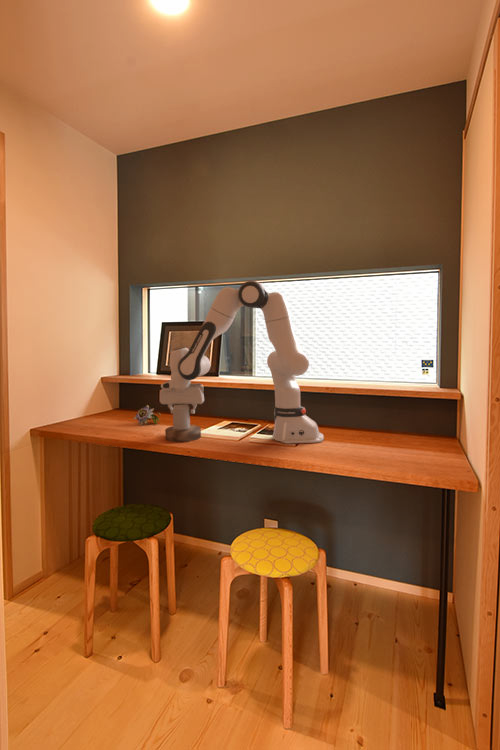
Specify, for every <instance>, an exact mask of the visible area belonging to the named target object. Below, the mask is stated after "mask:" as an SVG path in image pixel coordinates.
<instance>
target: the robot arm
mask: <svg viewBox="0 0 500 750" xmlns="http://www.w3.org/2000/svg"><path fill="white" fill-rule="evenodd" d="M241 307H246V308H250V309H260V310H261V311H262V314H263V318H264V322H265V323H264V324H265V327H266V332H267V337H268V340H269V341H270V343H271V344H272V346H273V348H274V350H273V351H272V352H270V353H269V355H268V356H267V359H266V363H267V364H266V365H267V367H268V368H269V370H270V373H271V379H272V382H273V386H274V387H273V388H274V402H275V404H274V405H275V406H274V409H273V411H274V412H273V415H274V417H273V418H274V429H273V433H272V437H273V438H274V439H275V440H274V439H273V438H272V439H273V440H274V441H277V442H281V443H283V444H307V443H308V444H309V443H322V442H323V441H324V439H325V437H324V434H323V433H321V432H320V431H319V426H318V423H317V422H316V421H314V420H313V419H312V418H310V417H309V416H307V415H306V413H307V410H306V408H305V406H302V405H301V388H300V386H299V384H298V382H297V379H296V377H299V376H302V375H304V374H306V372H307V371H308V370H309V366H310V361H309V358H308V357H307V355H306V354H305V353H304V351H303V350H302V348H301V346H300V344H299V342H298V339H297V337H296V333H295V331H294V327H293V323H292V317H291V313H290V310H289V306H288V303H287V300H286V298H285V295H284V294H282V293H281V292H275V291H274V292H268V291H267V290H266V288H265V287H264V285H263V284H262V283H260V282H259V281H256V280H248V281H246V282H243V283H242V284H241V285H240V287H239V288H238V289H237V288H234V287H229V286H226V287H223V288H222V289H220V291H219V292H218V294H217V295H216V296H215V298H214V300H213V302H212V304H211V306H210V308H209V311H208V313H207V315H206V317H205V320H204V322H203V323H202V325H201V328H199V329H200V330H199V331H198V333H197V334H196V336H195V338H194V340H193V342H192V345H191V346H190V347H189V348H188V347H186V346H184V347H177V348H174V349H172V350H171V351H170V355H169V367H170V368H169V369H170V371H171V373H170V380H167V381H166V382H162V383H161V384H160V388H161V390H160V391H159V402H160V404H161V405H167V407H168V408H169V410H170V414H172V415H173V405H174V404H187V405H192V409H190V414H191V415H193V414H195V413H196V408H197V406H198V405H202V404H203V403H204V402H205V395H204V385H203V384H201V383H199V382H197V383H193V382H191V381H192V380H195V379H197V378H199V377H202V376H205V375H206V374H207V373H209V372H210V369H211V360H210V359H209V358H208V357H207V356H206V355H205V354H206V352H207V350H208V348H209V346H210V345H211V343H212V341H214V340H215V339H217V338H218V336H220V335H222V334H224V333H226V332H227V331H228V329H229V328H230V327H231V325H232V324H233V322H234V321H235V318H236V315H237V313H238V312H239V309H240V308H241Z"/></svg>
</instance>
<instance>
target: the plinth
mask: <svg viewBox="0 0 500 750" xmlns="http://www.w3.org/2000/svg"><path fill="white" fill-rule="evenodd" d="M164 430H165V431H164V432H165V433H164V434H165V440H166V441H168V442H170V441H171V442H170V443H186V442H193V441H196V440H199V439H200V438H202V431H201V430H202V429H201V426H199V425H195V424H190V428H189V429H188V430H185V431H176V430H175V429H174V426H169V427H167V428H165V429H164Z"/></svg>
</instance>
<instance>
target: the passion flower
mask: <svg viewBox="0 0 500 750" xmlns="http://www.w3.org/2000/svg"><path fill="white" fill-rule="evenodd" d="M154 410H155V408H154V407H153V408H150V406H149V405H148V404H146V406H144V407H142V408H139V409H138V410H137V413H136V414H135V416H134V417H133V419H134V420H137V424H138V425H139V424H140V426H143V425H144V424H147V423H148V420H149V422H153V424H155V425H158V422H160V417H161V413H160V412H159V411H158V412H155V413H154V412H153V411H154ZM156 414H158V415H159V416H160V417H159V416H157V415H156Z"/></svg>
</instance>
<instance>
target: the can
mask: <svg viewBox="0 0 500 750" xmlns="http://www.w3.org/2000/svg"><path fill="white" fill-rule="evenodd" d="M172 408H173V414H172V422H173V426H174V429H175V430H176V431H185V430H188V429H189V428H190V425H191V419H190V418H191V417H190V414H191V412H190V406H189V404H173V405H172Z"/></svg>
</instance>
